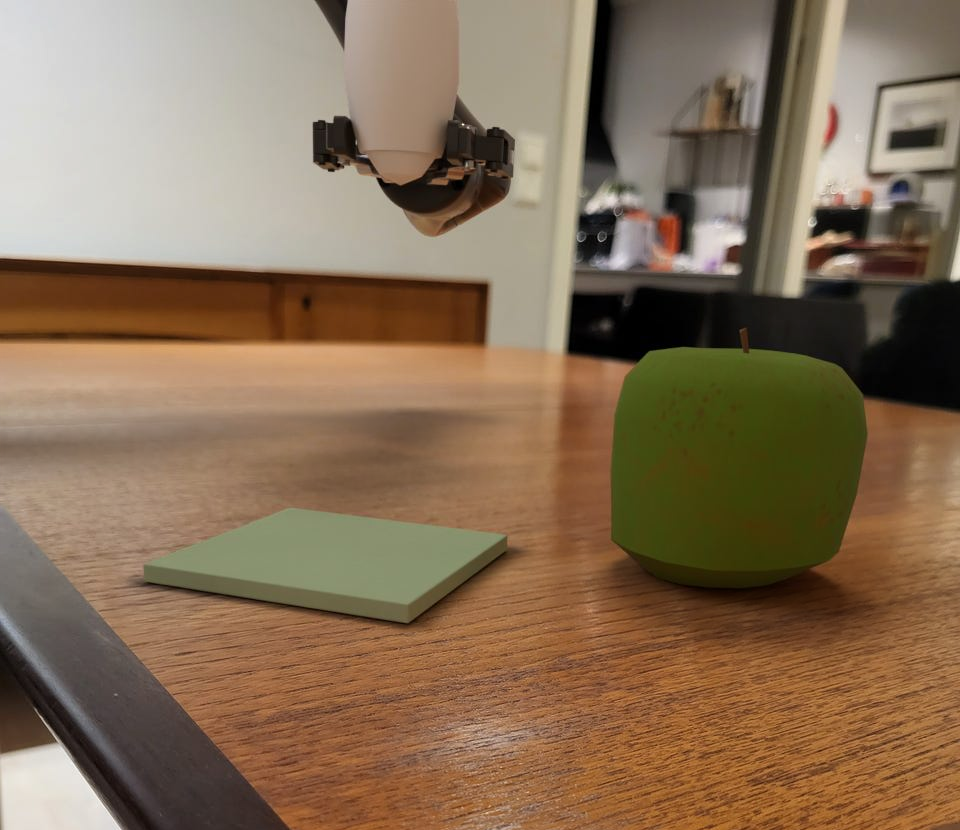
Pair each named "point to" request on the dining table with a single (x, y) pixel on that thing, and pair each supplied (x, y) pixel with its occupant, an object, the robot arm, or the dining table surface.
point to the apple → (734, 464)
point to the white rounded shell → (401, 81)
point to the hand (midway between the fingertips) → (395, 137)
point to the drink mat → (333, 563)
